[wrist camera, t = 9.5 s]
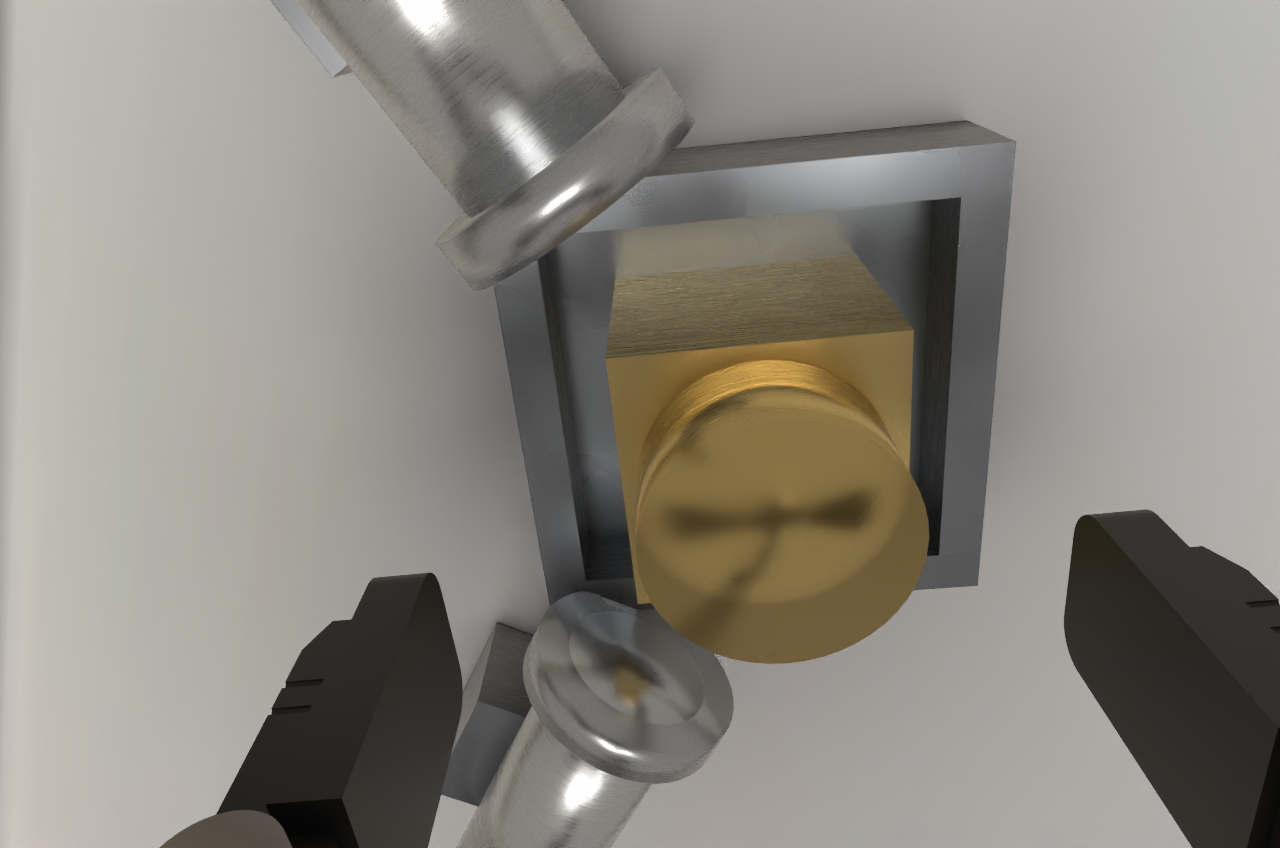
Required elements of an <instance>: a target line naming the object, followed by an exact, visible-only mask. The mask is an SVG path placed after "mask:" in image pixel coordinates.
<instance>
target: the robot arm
mask: <svg viewBox="0 0 1280 848" xmlns="http://www.w3.org/2000/svg"><path fill="white" fill-rule="evenodd" d="M1278 600H1279V599H1278V598H1277V597H1275V596H1274V595H1273V594H1272V593H1271V592H1270V591H1269V590H1268V589H1267V588H1266V587H1265V586H1264V585H1263V584H1262V583H1261V582H1259V581H1258V580H1257V579H1256V578H1255V577H1254V576H1253V575H1252V574H1251V573H1250V572H1249V571H1248V570H1246V569H1245V568H1243V567H1241V566H1239V565H1237V564H1235V563H1233V562H1231V561H1229V560H1227V559H1226V558H1224V557H1222V556H1220V555H1218V554H1216V553H1214V552H1212V551H1210V550H1209V549H1207V548H1205V547H1203V546H1200V547H1189V546H1188V545H1187V544H1186V543H1185V542H1184V541H1183V540H1182V539H1181V538H1180V537H1179V536H1178V535H1177V534H1176V533H1175V532H1174V531H1173V530H1172V529H1171V528H1170V527H1169V526H1168V525H1167V524H1166V523H1165V522H1164V521H1163V520H1162V519H1161V518H1160V517H1159V516H1158V515H1156V514H1155V513H1154V512H1152V511H1150V510H1136V511H1125V512H1114V513H1103V514H1092V515H1084V516H1082V517H1081V518H1080V519H1079V520H1078V522H1077V524H1076V527H1075V531H1074V537H1073V546H1072V554H1071V563H1070V571H1069V580H1068V588H1067V597H1066V605H1065V613H1064V630H1065V637H1066V642H1067V647H1068V650H1069V653H1070V656H1071V659H1072V661H1073V663H1074V666H1075V667H1076V669H1077V671H1078V672H1079V674H1080V675H1081V677H1082V679H1083V680H1084V682H1085V683H1086V685H1087V686H1088V688H1089V689H1090V691H1091V692H1092V694H1093V695H1094V697H1095V699H1096V700H1097V702H1098V703H1099V705H1100V706H1101V708H1102V709H1103V711H1104V712H1105V714H1106V715H1107V717H1108V718H1109V720H1110V722H1111V723H1112V725H1113V726H1114V728H1115V729H1116V731H1117V732H1118V734H1119V735H1120V737H1121V738H1122V740H1123V742H1124V743H1125V745H1126V746H1127V748H1128V749H1129V751H1130V752H1131V754H1132V755H1133V757H1134V758H1135V760H1136V761H1137V763H1138V765H1139V766H1140V768H1141V769H1142V771H1143V772H1144V774H1145V775H1146V777H1147V778H1148V780H1149V781H1150V783H1151V785H1152V786H1153V788H1154V789H1155V791H1156V792H1157V794H1158V795H1159V797H1160V798H1161V800H1162V801H1163V803H1164V805H1165V806H1166V808H1167V809H1168V811H1169V812H1170V814H1171V815H1172V817H1173V818H1174V820H1175V821H1176V823H1177V824H1178V826H1179V828H1180V829H1181V831H1182V832H1183V834H1184V835H1185V837H1186V838H1187V840H1188V841H1189V843H1190V844H1191V846H1192V848H1280V605H1279V602H1278ZM461 710H462V677H461V670H460V665H459V661H458V657H457V653H456V649H455V645H454V641H453V637H452V633H451V629H450V625H449V621H448V617H447V613H446V609H445V605H444V601H443V597H442V593H441V589H440V585H439V582H438V580H437V578H436V576H435V575H434V574H433V573H422V574H411V575H400V576H389V577H378V578H373V579H372V580H371V581H370V582H369V584H368V586H367V588H366V590H365V592H364V594H363V596H362V599H361V601H360V603H359V605H358V607H357V609H356V611H355V614H354V616H353V618H352V620H342V621H332V622H331V623H330V624H329V625H328V626H327V627H326V628H325V629H324V630H323V631H322V632H321V633H320V634H319V635H318V636H316V637H315V638H314V639H313V640H312V641H311V642H310V643H309V644H308V645H307V646H306V647H305V648H304V649H303V650H302V651H301V653H300V655H299V657H298V659H297V661H296V663H295V665H294V667H293V668H292V670H291V672H290V674H289V676H288V678H287V680H286V688H282V690H281V691H280V693H279V695H278V697H277V699H276V701H275V703H274V705H273V707H272V715H268V716H267V718H266V720H265V722H264V724H263V726H262V728H261V730H260V732H259V734H258V735H257V737H256V739H255V741H254V743H253V745H252V747H251V749H250V751H249V753H248V755H247V757H246V758H245V760H244V762H243V764H242V766H241V768H240V770H239V772H238V774H237V776H236V778H235V780H234V781H233V783H232V785H231V787H230V789H229V791H228V793H227V795H226V797H225V799H224V801H223V803H222V804H221V806H220V808H219V810H218V812H217V814H216V815H214V816H211V817H208V818H206V819H203V820H201V821H199V822H197V823H195V824H193V825H191V826H189V827H187V828H186V829H184V830H182V831H181V832H179V833H178V834H176V835H175V836H174V837H172V838H171V839H169V840H168V841H167V842H165V843H164V844H163V845H162V846H161V847H160V848H428V844H429V840H430V836H431V832H432V828H433V824H434V820H435V816H436V812H437V808H438V804H439V800H440V796H441V792H442V788H443V784H444V780H445V776H446V772H447V768H448V764H449V761H450V757H451V753H452V749H453V745H454V741H455V737H456V733H457V729H458V725H459V721H460V716H461Z"/></svg>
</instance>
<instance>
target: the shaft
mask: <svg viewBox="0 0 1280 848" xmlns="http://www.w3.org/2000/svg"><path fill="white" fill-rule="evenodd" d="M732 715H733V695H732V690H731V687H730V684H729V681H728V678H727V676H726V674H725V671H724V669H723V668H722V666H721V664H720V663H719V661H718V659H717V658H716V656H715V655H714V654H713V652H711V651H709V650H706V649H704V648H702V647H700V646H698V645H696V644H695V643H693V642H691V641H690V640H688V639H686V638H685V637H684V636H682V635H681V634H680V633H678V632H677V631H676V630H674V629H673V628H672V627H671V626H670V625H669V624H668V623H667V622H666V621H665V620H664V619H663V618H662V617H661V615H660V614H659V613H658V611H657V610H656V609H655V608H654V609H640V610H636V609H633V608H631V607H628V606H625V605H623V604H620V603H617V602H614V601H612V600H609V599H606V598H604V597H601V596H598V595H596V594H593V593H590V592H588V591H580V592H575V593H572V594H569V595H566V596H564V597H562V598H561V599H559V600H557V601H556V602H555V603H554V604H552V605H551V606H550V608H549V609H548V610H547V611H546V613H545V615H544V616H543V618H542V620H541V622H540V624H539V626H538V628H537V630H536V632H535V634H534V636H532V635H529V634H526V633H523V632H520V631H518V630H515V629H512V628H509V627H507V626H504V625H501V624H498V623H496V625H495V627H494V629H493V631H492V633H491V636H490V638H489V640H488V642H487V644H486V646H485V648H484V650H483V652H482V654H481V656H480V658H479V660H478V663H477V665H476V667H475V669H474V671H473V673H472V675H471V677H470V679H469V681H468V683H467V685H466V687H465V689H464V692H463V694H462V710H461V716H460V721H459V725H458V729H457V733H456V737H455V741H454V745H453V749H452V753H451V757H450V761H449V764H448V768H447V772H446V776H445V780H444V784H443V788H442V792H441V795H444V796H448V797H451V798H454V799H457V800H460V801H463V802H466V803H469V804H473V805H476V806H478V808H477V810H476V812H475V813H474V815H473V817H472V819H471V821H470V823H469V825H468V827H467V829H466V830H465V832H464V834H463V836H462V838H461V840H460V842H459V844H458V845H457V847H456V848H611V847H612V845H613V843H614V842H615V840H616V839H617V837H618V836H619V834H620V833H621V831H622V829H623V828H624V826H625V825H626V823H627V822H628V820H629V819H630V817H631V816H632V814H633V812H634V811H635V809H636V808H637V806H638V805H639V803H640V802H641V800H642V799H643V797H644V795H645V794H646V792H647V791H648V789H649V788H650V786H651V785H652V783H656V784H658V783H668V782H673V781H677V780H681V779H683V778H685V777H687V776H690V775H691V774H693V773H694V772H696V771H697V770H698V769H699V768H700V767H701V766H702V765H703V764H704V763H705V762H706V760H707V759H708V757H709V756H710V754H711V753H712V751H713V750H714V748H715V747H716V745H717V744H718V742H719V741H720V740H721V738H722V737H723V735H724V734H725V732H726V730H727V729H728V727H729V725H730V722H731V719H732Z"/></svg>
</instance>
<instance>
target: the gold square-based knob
mask: <svg viewBox="0 0 1280 848" xmlns="http://www.w3.org/2000/svg"><path fill="white" fill-rule="evenodd" d="M913 338H914V330H913V328H912V327H911V326H910V325H909V323H908V322H907V321H906V319H905V318H904V317H903V315H902V314H901V313H900V311H899V310H898V309H897V307H896V306H895V305H894V304H893V302H892V301H891V300H890V298H889V297H888V296H887V294H886V293H885V292H884V290H883V289H882V288H881V286H880V285H879V284H878V283H877V281H876V280H875V279H874V277H873V276H872V275H871V273H870V272H869V271H868V269H867V268H866V267H865V265H864V264H863V263H862V262H861V260H860V259H859V258H858V256H857V255H852V256H842V257H832V258H821V259H811V260H801V261H791V262H781V263H771V264H761V265H751V266H741V267H731V268H720V269H710V270H700V271H690V272H680V273H670V274H660V275H650V276H640V277H630V278H619V279H615V285H614V293H613V301H612V310H611V318H610V326H609V334H608V343H607V351H606V367H607V374H608V382H609V389H610V397H611V405H612V412H613V420H614V427H615V435H616V442H617V450H618V458H619V465H620V473H621V480H622V488H623V496H624V503H625V511H626V518H627V526H628V534H629V541H630V549H631V556H632V564H633V572H634V579H635V587H636V594H637V602H638V604H644V603H652V605H653V606H654V607H655V609H656V610H657V611H658V613H659V614H660V615H661V617H662V618H663V619H664V620H665V621H666V622H667V623H668V624H669V625H670V626H671V627H672V628H673V629H674V630H676V631H677V632H678V633H680V634H681V635H682V636H684V637H685V638H686V639H688V640H690V641H691V642H693V643H695V644H696V645H698V646H700V647H702V648H704V649H706V650H709V651H711V652H713V653H716V654H719V655H722V656H725V657H729V658H732V659H736V660H742V661H747V662H755V663H767V664H772V663H792V662H800V661H806V660H810V659H815V658H819V657H823V656H826V655H829V654H832V653H835V652H838V651H840V650H842V649H845V648H847V647H849V646H851V645H853V644H855V643H857V642H859V641H860V640H862V639H864V638H865V637H867V636H869V635H870V634H872V633H873V632H874V631H876V630H877V629H878V628H880V627H881V626H882V625H884V624H885V623H886V622H887V621H888V620H889V619H890V618H891V617H892V616H893V615H894V614H895V613H896V612H897V611H898V610H899V609H900V607H901V606H902V605H903V604H904V602H905V601H906V600H907V599H908V597H909V595H910V594H911V592H912V591H913V589H914V587H915V586H916V584H917V582H918V579H919V577H920V575H921V573H922V570H923V567H924V564H925V560H926V557H927V551H928V543H929V522H928V517H927V512H926V507H925V504H924V501H923V499H922V496H921V493H920V491H919V489H918V487H917V485H916V483H915V481H914V479H913V477H912V476H911V474H910V472H909V462H910V431H911V400H912V369H913Z"/></svg>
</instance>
